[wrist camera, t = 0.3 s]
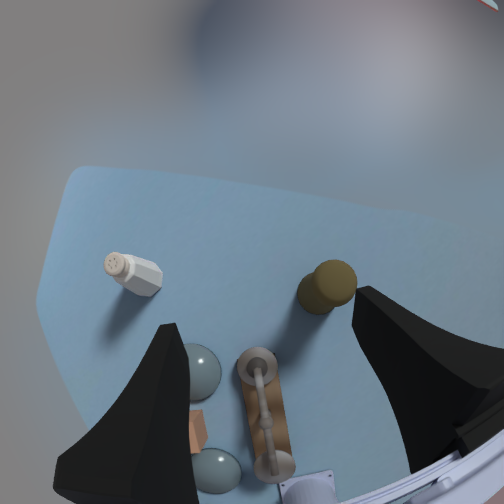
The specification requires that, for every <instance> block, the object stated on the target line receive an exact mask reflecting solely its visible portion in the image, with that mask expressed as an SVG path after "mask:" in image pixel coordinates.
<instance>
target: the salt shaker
mask: <svg viewBox="0 0 504 504" xmlns="http://www.w3.org/2000/svg"><path fill="white" fill-rule="evenodd" d="M104 270H105V272H106V273H107V274H108V275H110V276H113V278H114V279H115V281H116V282H117V283H119V284H120V285H122V286H124V287H125V288H127V289H128V290H130V291H132V292H133V293H135V294H137V295H138V296H148V297H151V296H152V295H154V294H155V293H156V292H157V291H158V290H159V289H160V288H161V286H162V277H163V273H162V272H161V270H160V269H159V268H158V266H157V265H156V264H155V263H154V262H151V261H148V260H145V259H142V258H139V257H136V256H133V255H127V254H120V253H118V252H112V253H110V254H109V255H108V256H107V257H106V258H105V261H104Z"/></svg>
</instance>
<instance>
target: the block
mask: <svg viewBox="0 0 504 504" xmlns="http://www.w3.org/2000/svg"><path fill="white" fill-rule="evenodd" d="M189 439H190V449H191V453H200V452H201V450H202V448H203V446H204V444H205V443H206V441H207V439H208V435H207V431H206V426H205V421H204V417H203V412H202V410H192V411H189Z"/></svg>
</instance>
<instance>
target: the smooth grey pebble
mask: <svg viewBox="0 0 504 504" xmlns="http://www.w3.org/2000/svg"><path fill="white" fill-rule="evenodd" d="M191 458H192V465H193V472H194V479H195V484H196V487H197V488H199V489H201V490H203V491H205V492H208V493H215V494H219V493H225V492H228V491H230V490H232V489H234V488H235V487H236V486H237V485H238V483H239V482H240V479H241V466H240V464H239V462H238V461H237V459H236V458H235V457H234V456H233V455H231V454H230V453H228V452H226V451H224V450H221V449H216V448H206V449H202V450H201V452H200V453H194V454H193V455H192V456H191Z"/></svg>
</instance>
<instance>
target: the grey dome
mask: <svg viewBox="0 0 504 504" xmlns="http://www.w3.org/2000/svg"><path fill="white" fill-rule="evenodd" d="M184 347H185V350H186V352H187V355H188V357H189V368H190V400H200V399H204V398H206V397H208V396H209V395H211V394H212V393H213V392H214V391H215V390H216V388H217V387H218V385H219V383H220V380H221V366H220V363H219V361H218V359H217V357H216V356H215V355H214V354H213V352H211V351H210V350H209V349H208V348H206V347H204V346H201V345H198V344H185V345H184Z"/></svg>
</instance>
